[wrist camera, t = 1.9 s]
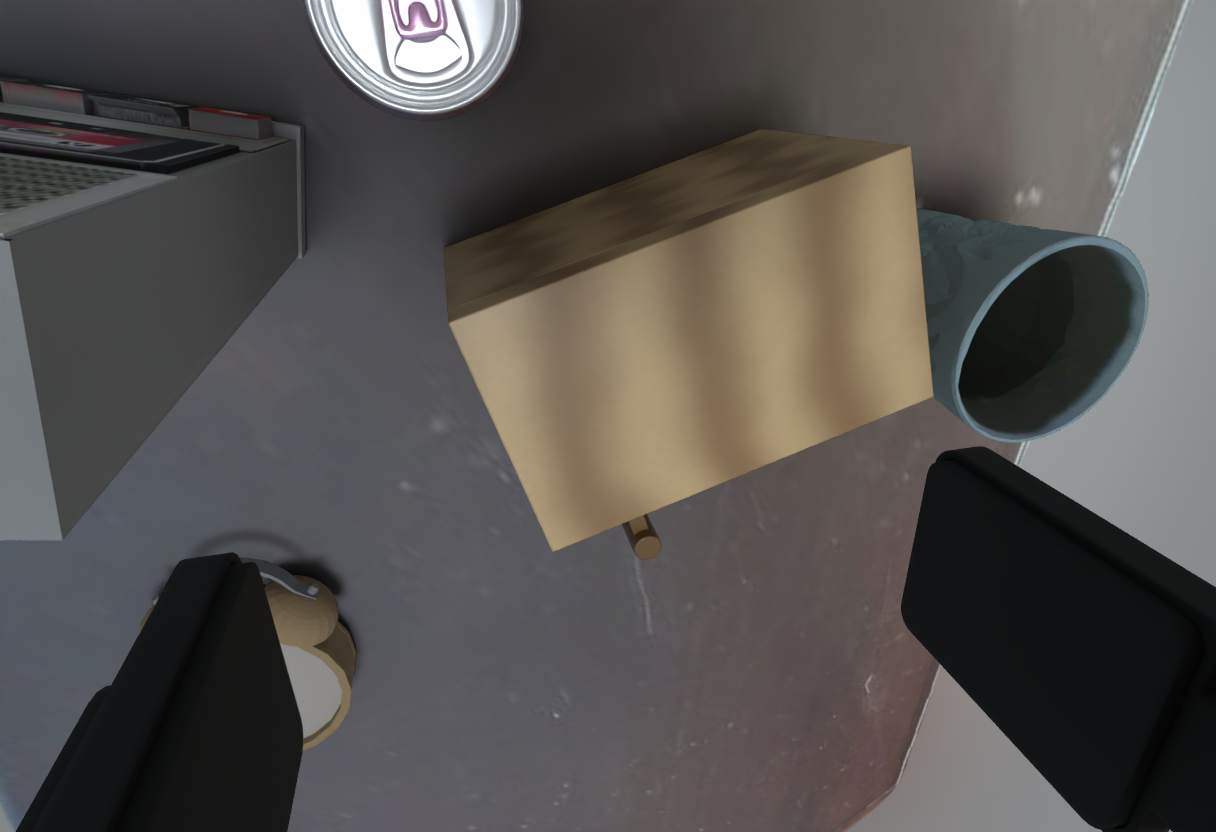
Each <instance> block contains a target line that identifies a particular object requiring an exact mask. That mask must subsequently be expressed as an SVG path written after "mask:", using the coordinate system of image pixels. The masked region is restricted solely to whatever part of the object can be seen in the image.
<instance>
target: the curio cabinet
mask: <svg viewBox="0 0 1216 832" xmlns="http://www.w3.org/2000/svg"><path fill="white" fill-rule="evenodd" d="M444 265H445V281H446V297H447V312H448V324H449V326H450V329H451V331H452V333H453V335H454V337H455V340H456V342H457V344H458V346H459V348H460V351H461V353H462V355H463V357H464V359H465V361H466V364H467V366H468V368H469V370H470V372H471V375H472V377H473V379H474V381H475V383H476V386H477V388H478V390H479V392H480V394H481V396H482V399H483V401H484V403H485V405H486V407H487V410H488V412H489V414H490V416H491V418H492V420H493V423H494V425H495V427H496V429H497V431H498V434H499V436H500V438H501V440H502V442H503V445H504V447H505V449H506V451H507V453H508V455H509V458H510V460H511V462H512V464H513V466H514V469H515V471H516V473H517V475H518V477H519V480H520V482H521V484H522V486H523V488H524V490H525V493H526V495H527V497H528V499H529V501H530V504H531V506H532V508H533V510H534V512H535V514H536V517H537V519H538V521H539V523H540V525H541V528H542V530H543V532H544V534H545V536H546V539H547V541H548V543H549V545H550V547H551V549H552V551H553V552H554V551H557V550H559V549H562V548H564V547H566V546H569V545H571V544H574V543H576V542H579V541H581V540H584V539H586V538H588V537H591V536H593V535H596V534H598V533H601V532H603V531H606V530H608V529H610V528H613V527H615V526H618V525H620V524H623V523H625V522H628V521H630V520H632V519H635V518H637V517H640V516H642V515H645V514H647V513H650V512H652V511H655V510H657V509H659V508H662V507H664V506H667V505H669V504H672V503H674V502H677V501H679V500H681V499H684V498H686V497H689V496H691V495H694V494H696V493H699V492H701V491H703V490H706V489H708V488H711V487H713V486H716V485H718V484H721V483H723V482H725V481H728V480H730V479H733V478H735V477H738V476H740V475H743V474H745V473H747V472H750V471H752V470H755V469H757V468H760V467H762V466H765V465H767V464H769V463H772V462H774V461H777V460H779V459H782V458H784V457H787V456H789V455H791V454H794V453H796V452H799V451H801V450H804V449H806V448H809V447H811V446H814V445H816V444H818V443H821V442H823V441H826V440H828V439H831V438H833V437H836V436H838V435H840V434H843V433H845V432H848V431H850V430H853V429H855V428H858V427H860V426H862V425H865V424H867V423H870V422H872V421H875V420H877V419H880V418H882V417H884V416H887V415H889V414H892V413H894V412H897V411H899V410H902V409H904V408H906V407H909V406H911V405H914V404H916V403H919V402H921V401H924V400H926V399H928V398H931V397H933V386H932V375H931V364H930V353H929V342H928V331H927V320H926V309H925V298H924V287H923V276H922V265H921V254H920V243H919V232H918V221H917V210H916V199H915V188H914V177H913V166H912V155H911V147H910V146H906V145H898V144H889V143H882V142H873V141H865V140H856V139H847V138H838V137H830V136H821V135H812V134H803V133H794V132H786V131H777V130H766V129H759V130H757V131H754V132H751V133H749V134H746V135H743V136H741V137H738V138H735V139H733V140H730V141H727V142H725V143H722V144H720V145H717V146H714V147H712V148H709V149H706V150H704V151H701V152H698V153H696V154H693V155H690V156H688V157H685V158H682V159H680V160H677V161H674V162H672V163H669V164H666V165H664V166H661V167H658V168H656V169H653V170H650V171H648V172H645V173H642V174H640V175H637V176H634V177H632V178H629V179H626V180H624V181H621V182H618V183H616V184H613V185H610V186H608V187H605V188H602V189H600V190H597V191H594V192H592V193H589V194H586V195H584V196H581V197H578V198H576V199H573V200H570V201H568V202H565V203H563V204H560V205H557V206H555V207H552V208H549V209H547V210H544V211H541V212H539V213H536V214H533V215H531V216H528V217H525V218H523V219H520V220H517V221H515V222H512V223H509V224H507V225H504V226H501V227H499V228H496V229H493V230H491V231H488V232H485V233H483V234H480V235H477V236H475V237H472V238H469V239H467V240H464V241H461V242H459V243H456V244H453V245H451V246H448V247H445V248H444Z"/></svg>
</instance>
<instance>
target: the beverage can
mask: <svg viewBox="0 0 1216 832" xmlns="http://www.w3.org/2000/svg"><path fill="white" fill-rule="evenodd" d="M303 4H304V9H305V13H306V17H307V21H308V24H309V27H310V30H311V32H312V35H313V37H314V40H315V42H316V44H317V46H318V48H319V50H320V51H321V53H322V55H323V57H324V58H325V60H326V61H327V63H328V64H329V66H330V67H331V68H332V70H333V71H334V72H335V73H336V75H337V76H338V77H339V78H340V79H341V80H342V81H343V82H344V83H345V84H346V85H347V86H348V87H349V88H350V89H351V90H352V91H353V92H354V93H356V94H357V95H358V96H360V97H361V98H362V99H364V100H365V101H367V102H368V103H370V104H371V105H373V106H375V107H377V108H379V109H381V110H383V111H385V112H387V113H390V114H392V115H395V116H399V117H402V118H407V119H412V120H421V121H435V120H444V119H449V118H452V117H456V116H459V115H461V114H464V113H466V112H468V111H470V110H472V109H474V108H476V107H477V106H479V105H480V104H482V103H483V102H484V101H486V100H487V99H488V98H489V97H490V96H491V95H492V94H493V93H494V92H495V91H496V90H497V89H498V88H499V86H500V85H501V84H502V83H503V81H504V80H505V78H506V77H507V75H508V73H509V71H510V70H511V68H512V65H513V63H514V61H515V58H516V56H517V53H518V49H519V46H520V42H521V37H522V30H523V19H524V9H523V0H303Z"/></svg>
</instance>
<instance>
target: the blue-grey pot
mask: <svg viewBox="0 0 1216 832" xmlns="http://www.w3.org/2000/svg"><path fill="white" fill-rule="evenodd" d="M916 210H917V221H918V232H919V243H920V254H921V265H922V276H923V287H924V298H925V309H926V320H927V331H928V342H929V353H930V364H931V375H932V386H933V396H934V397H935V399H936V400H938V401H939V402H940V403H941V404H943V405H944V406H945V407H946V408H947V409H948V410H950V411H951V412H952V413H953V414H954V415H956V416H957V417H958V418H959V419H960V420H961V421H963V422H964V423H965V424H966V425H967V426H969V427H970V428H971V429H972V430H974V431H975V432H977V433H978V434H980V435H982V436H984V437H986V438H989V439H992V440H996V441H1001V442H1024V441H1030V440H1035V439H1039V438H1043V437H1045V436H1048V435H1050V434H1052V433H1055V432H1057V431H1059V430H1061V429H1063V428H1064V427H1066V426H1068V425H1069V424H1071V423H1073V422H1074V421H1076V420H1078V419H1079V418H1080V417H1081V416H1083V415H1084V414H1085V413H1086V412H1087V411H1089V410H1090V409H1091V408H1092V407H1093V406H1094V405H1096V404H1097V402H1099V400H1101V398H1102V397H1103V396H1104V395H1105V394H1106V393H1107V392H1108V391H1109V390H1110V388H1111V387H1112V386H1113V384H1114V383H1115V382H1116V380H1117V379H1118V377H1119V376H1120V375H1121V373H1122V372H1123V371H1124V369H1125V368H1126V366H1127V365H1128V363H1129V361H1130V359H1131V357H1132V356H1133V354H1134V351H1135V349H1136V348H1137V346H1138V344H1139V342H1140V339H1141V336H1142V333H1143V330H1144V326H1145V322H1146V318H1147V312H1148V297H1149V294H1148V285H1147V279H1146V276H1145V272H1144V270H1143V268H1142V266H1141V264H1140V262H1139V260H1138V259H1137V257H1136V256H1135V255H1134V253H1132V251H1131V250H1130V249H1128V248H1127V247H1125V246H1124V245H1122V244H1121V243H1119V242H1118V241H1116V240H1113V239H1110V238H1107V237H1102V236H1095V235H1087V234H1080V233H1073V232H1066V231H1058V230H1049V229H1048V230H1047V229H1040V228H1037V227H1032V226H1023V225H1021V226H1015V225H1012V224H1011V223H1003V222H1000V221H990V220H986V219H982V220H980V221H972V220H971V219H970V218H963V217H961V216H959V215H952V214H946V213H941V212H938V211H932V210H925V209H916Z"/></svg>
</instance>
